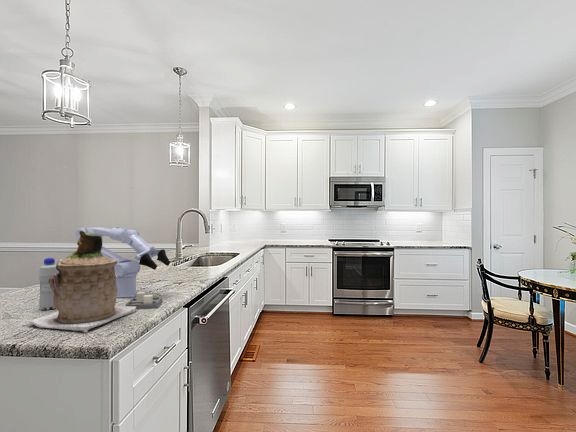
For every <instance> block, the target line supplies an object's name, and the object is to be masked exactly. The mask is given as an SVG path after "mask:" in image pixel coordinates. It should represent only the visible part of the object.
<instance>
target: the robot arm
mask: <svg viewBox="0 0 576 432" xmlns="http://www.w3.org/2000/svg"><path fill="white" fill-rule="evenodd" d="M80 231H84V232H87V233H91V234H96V235H98V236H100V237H101V238H102V239H103V237H109V238H110V240H112V241H119V242H121V243H122V244H126V245H128V246H129V247H130V248H132V249H133V250H134V251H135V252H136V253H137V254H135V256H134V260H133V259H131V258H125V257H122V256H120V255H118V254H117V253H115V252H113V251H111V250H110V249H108V248H106V247H105V246H103V245H102V248H101V251H100V252H101V254H102V255H103V256H106V257H108V258H110V259H116V260H117V261H118V262H117V264H116V265H115V267H114V268H115V275H116V285H117V286H116V287H117V297H116V299H117V298H118V299H119V298H133V297H137V293H138V292H139V291H137V276H138V273H140V272H141V266H145V267H147V268H150V269H152V270H154V271H155V270H156V269H157V267H158V265H157V263H155V261H154V260H153V258H154V257H156V256H157V259H156V261H159V262H161V263H162V264H163V265H166V266H167V267H169V266H170V264H171V261H170V260H169V257H168V256H167V253H166V249H164V248H163V249H162V248H160V249H159V248H156V247H155V246H154V245H152V246H151V245H150V244H149V243H148V242H146V240H144V239H143V237H141V236H140V233H139V231H138V230H137V229H134V228H133V229H128V228H127V227H123V228H121V227H120V226H114V227H112V228H107V227H103V226H101V227H99V226H97V227H95V226H94V227H79V228H78V229H77V230H76V233H75V237H76V241H77V242H78V240H79V238H80Z"/></svg>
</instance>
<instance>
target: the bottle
mask: <svg viewBox="0 0 576 432" xmlns="http://www.w3.org/2000/svg"><path fill="white" fill-rule="evenodd" d="M43 264H44V265H41V266H40V267H39V272H38V280H39V299H38V300H39V302H38V304H39V305H38V306H39V309H40V310H41V311H45V310H47V311H49V310H50V309H51V310H55V309H56V308H55V307H54V305H53V297H54V292H53V291H52V289H51V287H50V285H49V283H48V281H49V279H50V278H51V277H54V276H53V275H54V274H55V273H57V274H58V273H59V271H58V270H57V269H56V265H57V264H55V259H54V258H53V257H47V258H44V260H43Z"/></svg>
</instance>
